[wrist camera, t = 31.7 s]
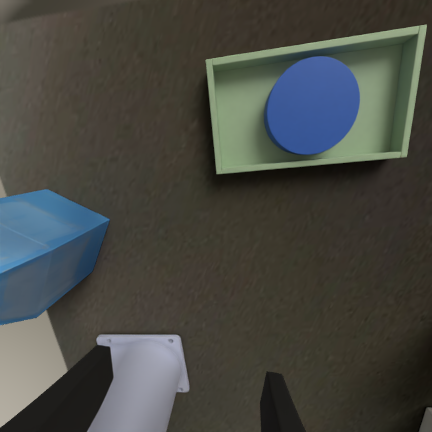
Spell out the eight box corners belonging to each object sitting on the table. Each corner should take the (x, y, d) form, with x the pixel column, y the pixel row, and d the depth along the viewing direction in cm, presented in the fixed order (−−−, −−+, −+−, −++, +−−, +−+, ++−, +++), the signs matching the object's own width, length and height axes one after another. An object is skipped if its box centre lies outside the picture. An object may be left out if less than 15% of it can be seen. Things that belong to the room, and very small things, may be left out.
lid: (364, 86, 14) (381, 77, 12) (321, 166, 16) (330, 168, 14) (285, 53, 14) (292, 40, 12) (251, 137, 16) (252, 136, 14)
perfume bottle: (46, 189, 19) (-244, 245, 7) (109, 219, 19) (-78, 318, 8) (34, 244, 21) (-212, 357, 9) (92, 271, 21) (-79, 412, 10)
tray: (218, 172, 17) (216, 174, 15) (208, 68, 15) (205, 59, 13) (390, 156, 15) (407, 157, 14) (405, 38, 13) (427, 24, 12)
